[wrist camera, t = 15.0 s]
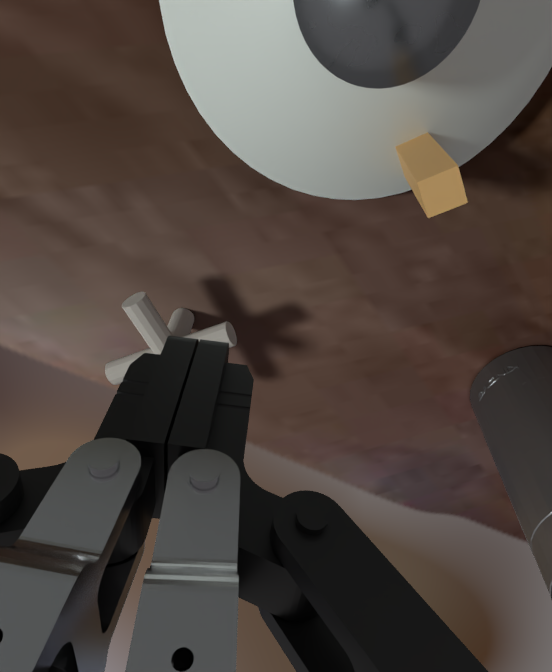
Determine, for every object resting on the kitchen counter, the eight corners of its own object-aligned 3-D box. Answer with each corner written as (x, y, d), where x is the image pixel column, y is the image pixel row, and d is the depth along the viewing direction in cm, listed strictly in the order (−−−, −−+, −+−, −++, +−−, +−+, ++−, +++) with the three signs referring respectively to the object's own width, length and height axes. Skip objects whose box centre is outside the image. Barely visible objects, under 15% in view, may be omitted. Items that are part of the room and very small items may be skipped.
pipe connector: (209, 243, 37) (182, 315, 28) (264, 346, 42) (254, 432, 33) (97, 287, 39) (42, 365, 31) (161, 379, 44) (129, 466, 36)
